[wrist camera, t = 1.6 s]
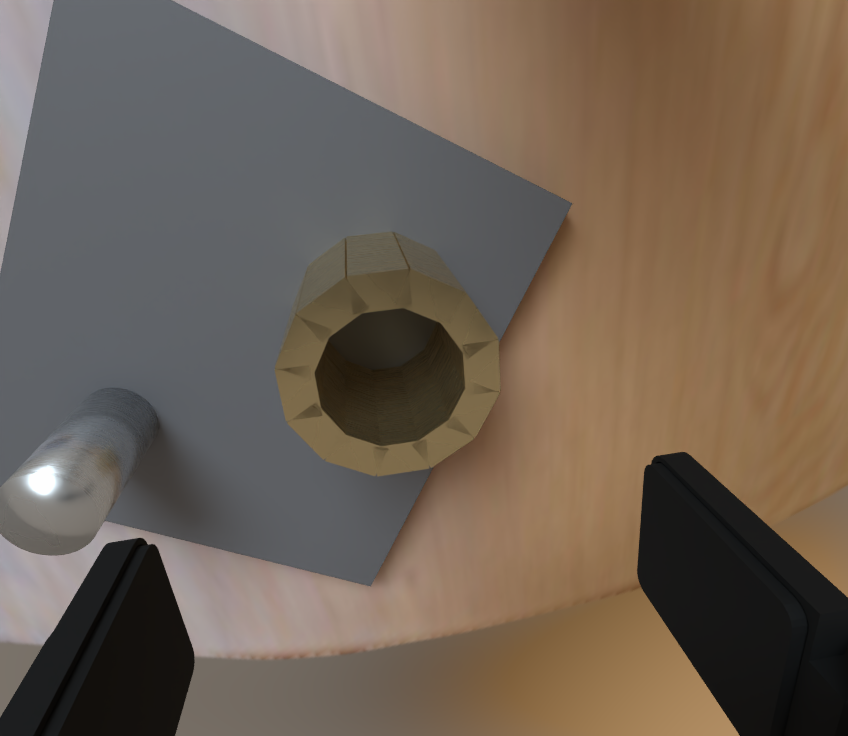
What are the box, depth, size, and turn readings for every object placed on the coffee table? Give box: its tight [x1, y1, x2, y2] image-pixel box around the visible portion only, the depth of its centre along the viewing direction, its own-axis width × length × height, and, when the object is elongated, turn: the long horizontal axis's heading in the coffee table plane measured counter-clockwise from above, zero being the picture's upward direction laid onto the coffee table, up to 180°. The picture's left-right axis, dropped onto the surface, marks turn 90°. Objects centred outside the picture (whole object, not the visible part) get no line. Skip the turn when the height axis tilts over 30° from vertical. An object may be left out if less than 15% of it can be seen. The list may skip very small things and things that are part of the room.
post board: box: [0, 0, 572, 586], centre depth 20 cm, size 20×18×8 cm
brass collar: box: [274, 231, 501, 477], centre depth 19 cm, size 7×7×6 cm
